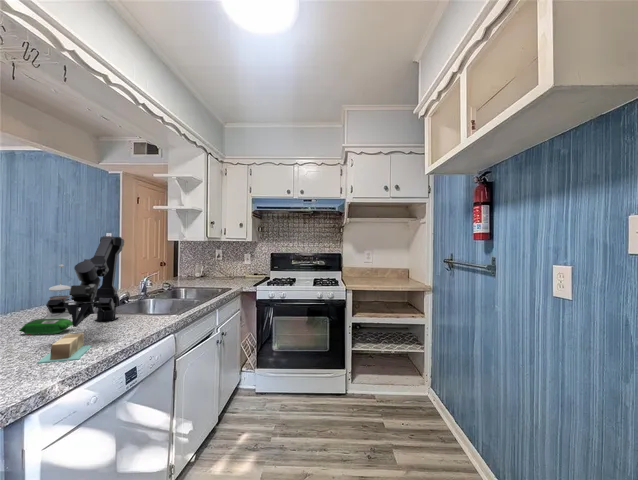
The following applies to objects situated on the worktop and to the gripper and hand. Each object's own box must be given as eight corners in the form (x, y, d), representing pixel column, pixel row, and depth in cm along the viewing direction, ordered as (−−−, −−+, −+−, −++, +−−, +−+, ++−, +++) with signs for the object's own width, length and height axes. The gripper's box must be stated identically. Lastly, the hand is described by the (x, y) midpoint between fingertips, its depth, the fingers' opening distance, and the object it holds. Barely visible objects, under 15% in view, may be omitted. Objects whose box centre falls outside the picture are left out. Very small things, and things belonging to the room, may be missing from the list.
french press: (40, 317, 131) (43, 263, 131) (72, 313, 141) (75, 263, 141) (48, 321, 125) (51, 265, 126) (80, 316, 135) (83, 264, 136)
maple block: (68, 333, 99) (51, 345, 88) (84, 332, 101) (69, 344, 89) (67, 346, 99) (50, 359, 88) (83, 345, 101) (68, 358, 89)
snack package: (66, 335, 111) (66, 321, 111) (16, 336, 107) (17, 322, 107) (76, 329, 118) (77, 317, 118) (30, 330, 114) (31, 317, 114)
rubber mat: (56, 349, 97) (56, 347, 97) (91, 346, 101) (91, 345, 101) (37, 363, 86) (37, 362, 86) (78, 359, 90) (78, 358, 90)
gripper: (50, 276, 100) (31, 315, 89) (113, 276, 107) (102, 312, 96) (59, 294, 107) (42, 332, 97) (118, 293, 114) (108, 328, 104)
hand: (74, 326), depth 98 cm, fingers closed
